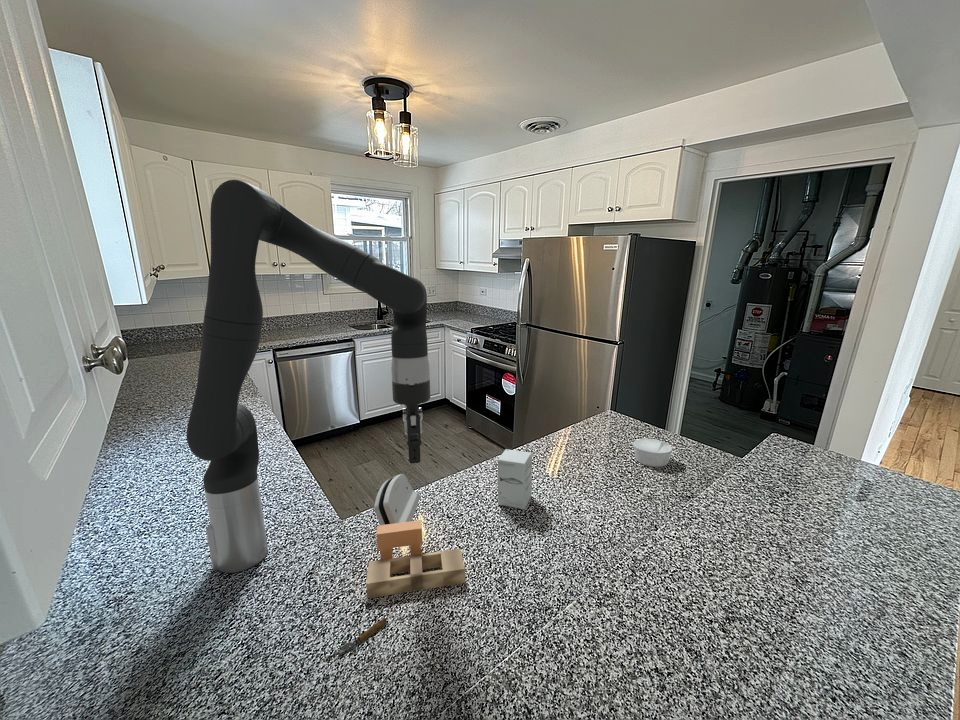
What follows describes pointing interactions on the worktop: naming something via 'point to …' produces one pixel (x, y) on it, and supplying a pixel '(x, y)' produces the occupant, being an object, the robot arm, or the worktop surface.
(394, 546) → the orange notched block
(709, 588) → the worktop surface
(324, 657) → the worktop surface
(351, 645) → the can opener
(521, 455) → the supplement box
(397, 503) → the grey piece
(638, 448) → the ramekin
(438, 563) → the rail
